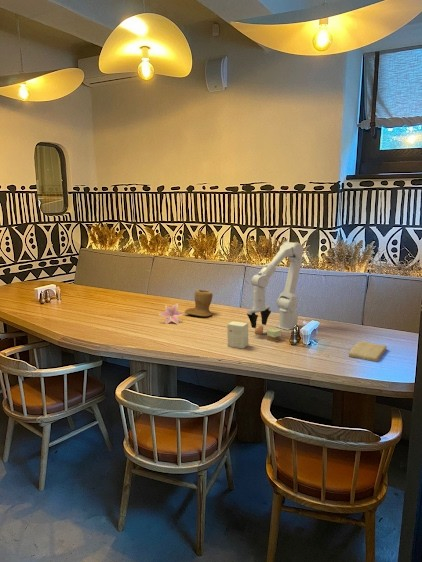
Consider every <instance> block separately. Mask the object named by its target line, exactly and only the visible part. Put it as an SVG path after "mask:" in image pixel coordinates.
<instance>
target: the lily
mask: <svg viewBox="0 0 422 562" xmlns="http://www.w3.org/2000/svg"><path fill="white" fill-rule="evenodd" d="M178 310H179V302H178V303H174V305H171V307H170V306H168V305H166V304H165V311H162V312H160V313H158V316H159V317H163V318H166V319H165V325H168V324H169V323H171V322H173V323H175V324H176V325H179V323H180V322H179V317H180V316H183V315H184V312H182V311H178Z"/></svg>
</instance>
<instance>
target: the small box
mask: <svg viewBox="0 0 422 562" xmlns="http://www.w3.org/2000/svg"><path fill="white" fill-rule="evenodd" d="M226 330H227V347H231V348H237V349H238V348H239V349H245V348H246V347H248V346H249V323H248V322H241V321H231V322H229V323H227V328H226Z"/></svg>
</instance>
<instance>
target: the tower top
mask: <svg viewBox="0 0 422 562" xmlns="http://www.w3.org/2000/svg"><path fill="white" fill-rule="evenodd" d="M281 333H282V331H281V329H278V328H276V327H275V328H271V329H270V328H269V329H267V332H266V336H267V335H268V336H271V337H277V336H280V337H281V336H282V334H281Z"/></svg>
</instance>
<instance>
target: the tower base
mask: <svg viewBox="0 0 422 562" xmlns="http://www.w3.org/2000/svg"><path fill="white" fill-rule="evenodd" d="M266 340H267V341H270V342H274V343H277V342H278V341H280V340H281V336H277V337H271V336H268V335H267V334H266Z"/></svg>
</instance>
